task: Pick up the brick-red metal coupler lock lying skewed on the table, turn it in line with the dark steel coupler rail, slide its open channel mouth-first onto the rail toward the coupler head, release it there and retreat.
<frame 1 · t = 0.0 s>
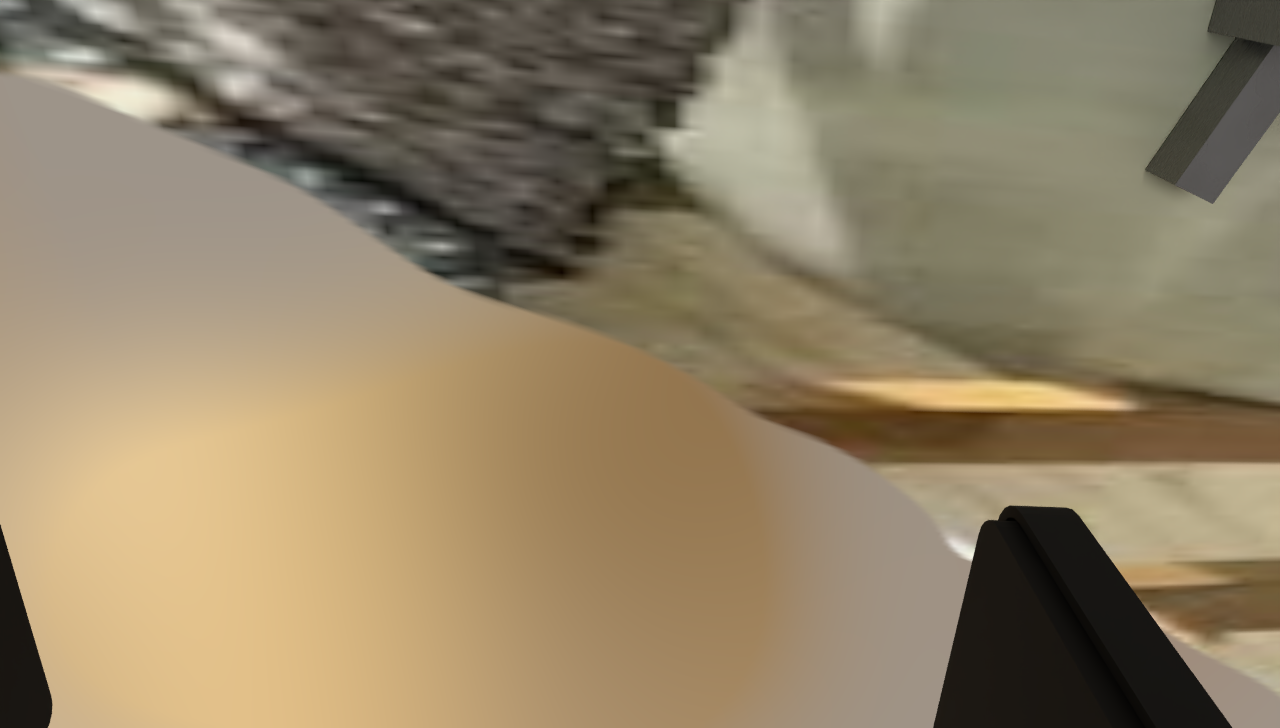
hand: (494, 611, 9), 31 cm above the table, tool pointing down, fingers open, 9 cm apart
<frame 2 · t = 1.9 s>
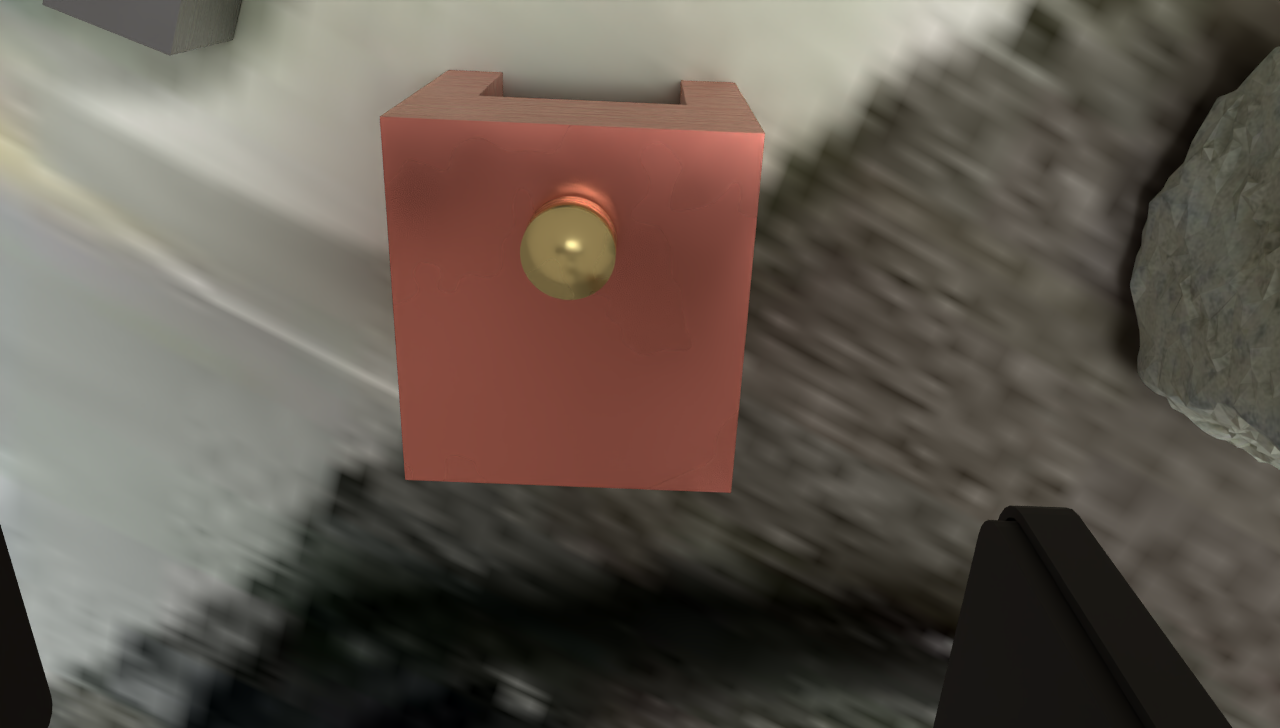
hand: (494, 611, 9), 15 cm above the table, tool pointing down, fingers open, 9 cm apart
coupler lock: (588, 227, 23), on the table
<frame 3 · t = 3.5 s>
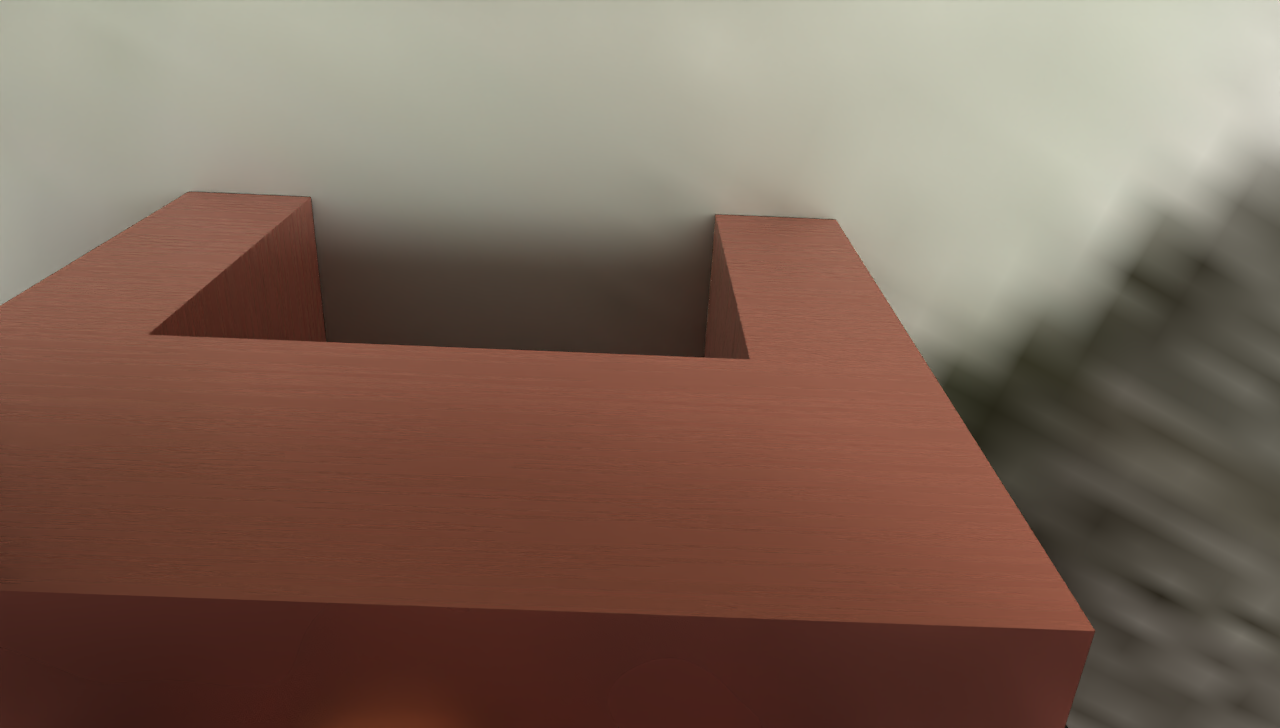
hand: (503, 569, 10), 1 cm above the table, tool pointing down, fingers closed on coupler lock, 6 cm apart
coupler lock: (517, 503, 11), on the table, touching gripper
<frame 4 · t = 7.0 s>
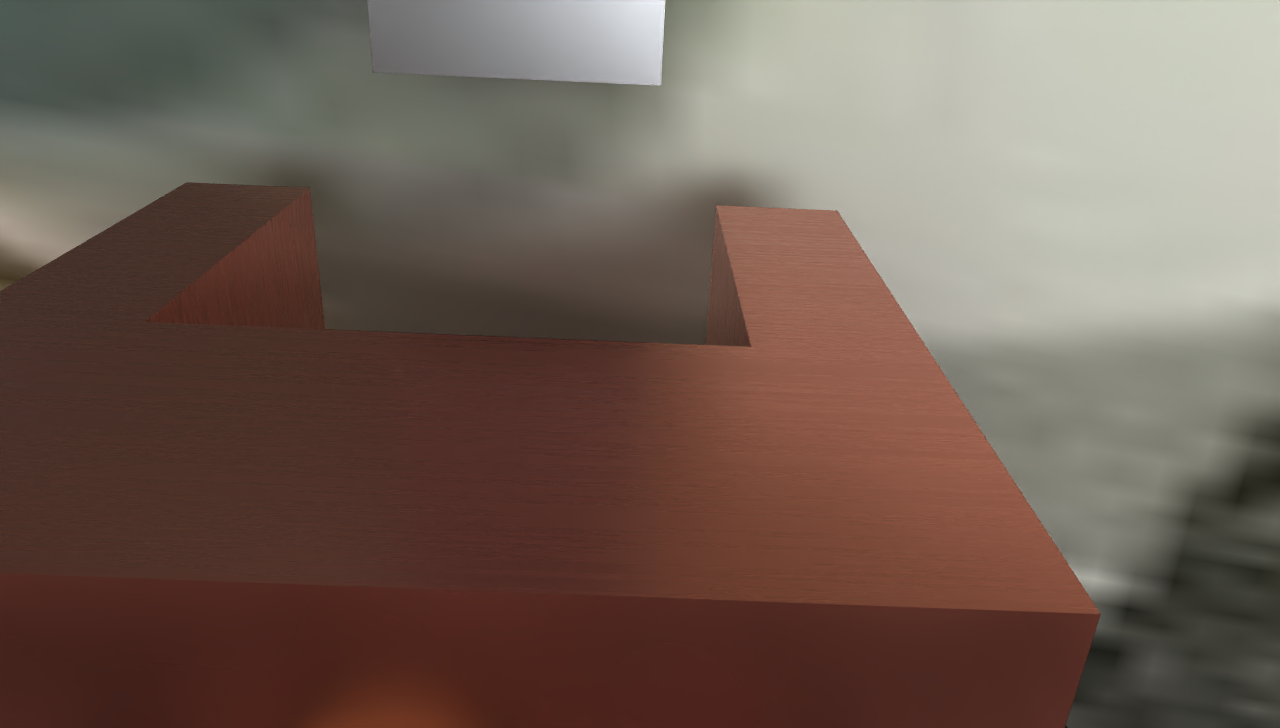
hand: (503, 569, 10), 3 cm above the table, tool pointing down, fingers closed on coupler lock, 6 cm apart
coupler lock: (517, 496, 11), point 2 cm above the table, touching gripper
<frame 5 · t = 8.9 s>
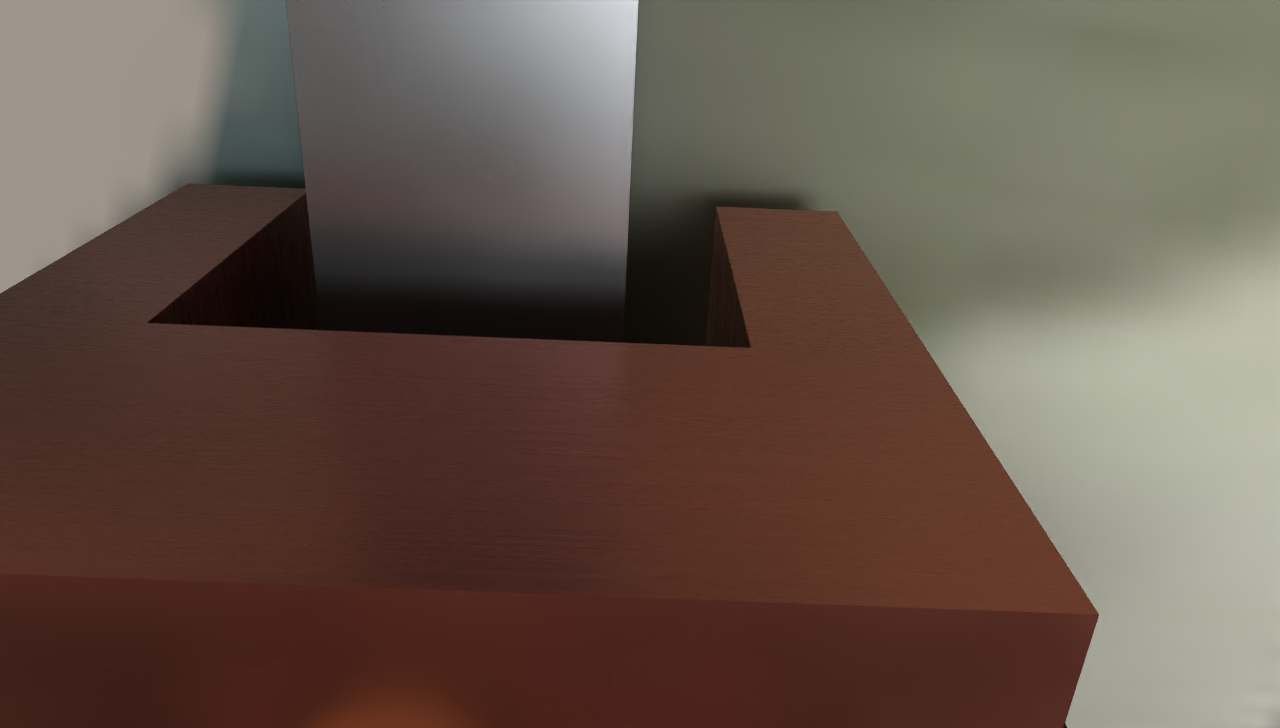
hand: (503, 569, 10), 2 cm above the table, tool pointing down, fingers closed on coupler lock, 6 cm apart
coupler lock: (518, 496, 11), point 1 cm above the table, touching gripper
coupler: (515, 106, 10), on the table
when the fingers open (2 cm above the table, at t = 10.5 s): coupler lock stays where it is, resting in coupler.
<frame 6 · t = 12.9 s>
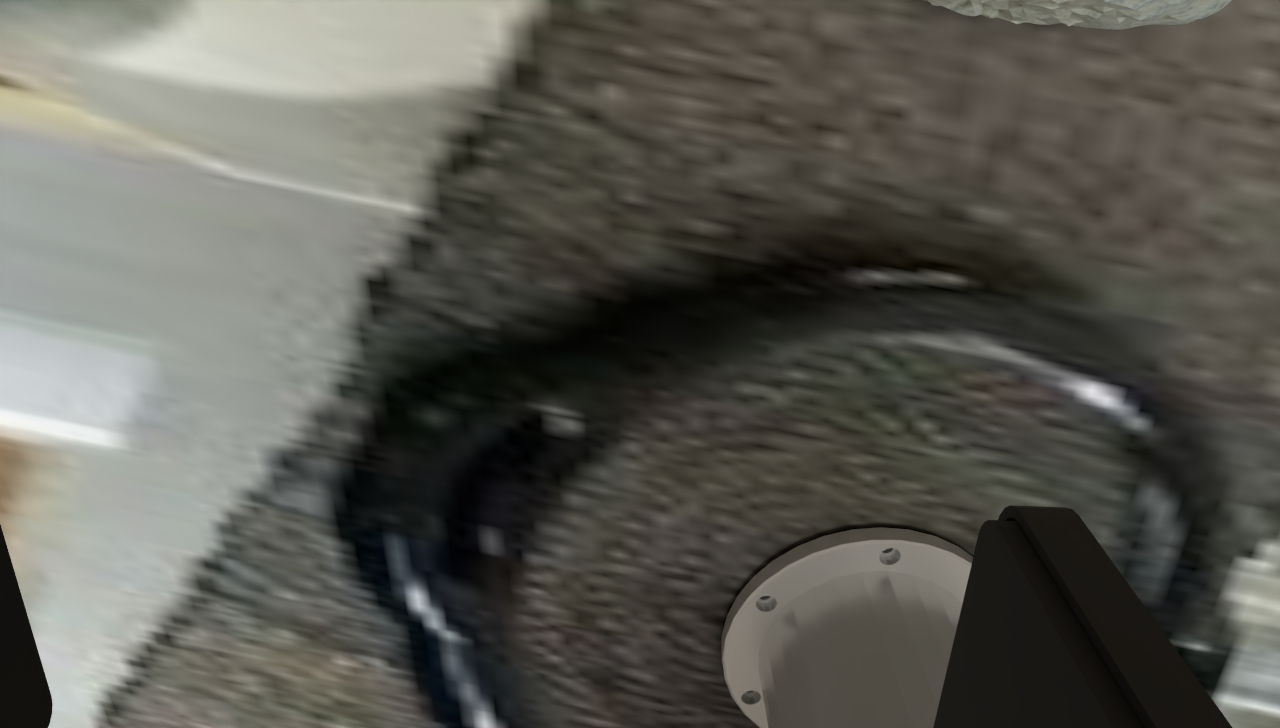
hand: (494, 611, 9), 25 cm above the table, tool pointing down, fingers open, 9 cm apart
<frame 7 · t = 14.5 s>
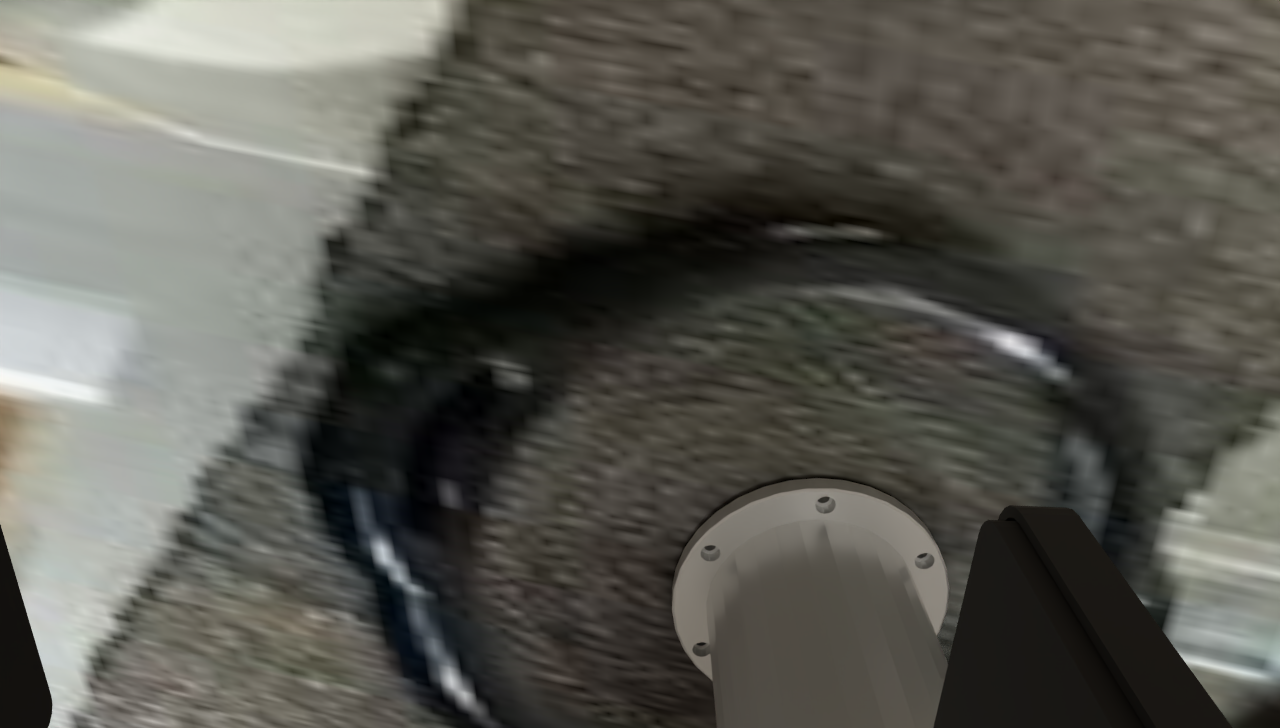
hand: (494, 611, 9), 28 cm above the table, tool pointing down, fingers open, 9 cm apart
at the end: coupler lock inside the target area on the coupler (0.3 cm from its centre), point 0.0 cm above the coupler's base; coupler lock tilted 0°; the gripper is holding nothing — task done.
